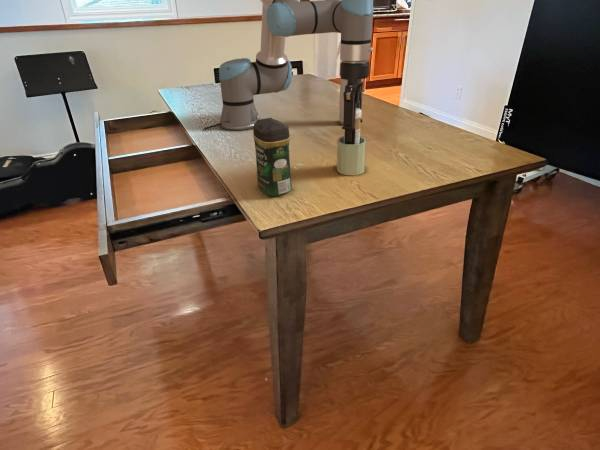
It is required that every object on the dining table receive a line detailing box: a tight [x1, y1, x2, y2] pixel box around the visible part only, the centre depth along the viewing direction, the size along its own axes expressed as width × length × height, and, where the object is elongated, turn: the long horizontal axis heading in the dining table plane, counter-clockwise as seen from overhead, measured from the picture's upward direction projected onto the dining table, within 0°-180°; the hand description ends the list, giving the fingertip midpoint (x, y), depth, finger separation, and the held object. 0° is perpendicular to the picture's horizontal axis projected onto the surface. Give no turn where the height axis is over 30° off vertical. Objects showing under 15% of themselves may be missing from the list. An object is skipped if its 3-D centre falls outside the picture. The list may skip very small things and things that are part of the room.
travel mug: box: [338, 76, 348, 126], centre depth 154 cm, size 6×7×20 cm
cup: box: [336, 135, 367, 176], centre depth 118 cm, size 8×8×9 cm
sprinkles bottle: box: [343, 108, 363, 144], centre depth 115 cm, size 5×5×14 cm
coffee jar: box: [252, 117, 293, 197], centre depth 105 cm, size 10×8×19 cm
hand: (351, 148), depth 117 cm, fingers closed on sprinkles bottle, 4 cm apart
